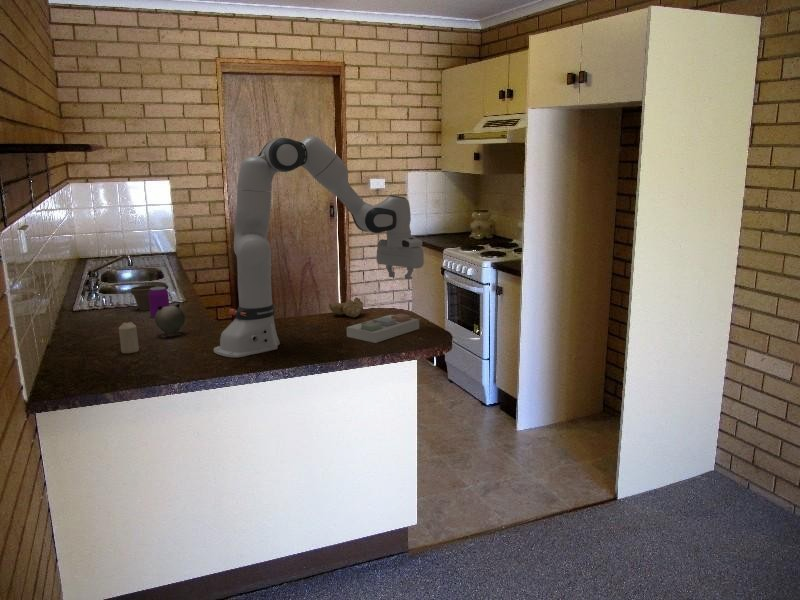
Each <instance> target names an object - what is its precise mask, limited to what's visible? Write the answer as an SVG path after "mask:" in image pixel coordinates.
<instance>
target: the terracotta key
mask: <svg viewBox="0 0 800 600" xmlns="http://www.w3.org/2000/svg"><path fill="white" fill-rule="evenodd" d="M392 315H393V316H391V319H396V322H405V321H408V320H410V318H411V315H410V314H405V313H398V314H392Z"/></svg>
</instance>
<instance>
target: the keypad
mask: <svg viewBox="0 0 800 600" xmlns="http://www.w3.org/2000/svg"><path fill="white" fill-rule="evenodd" d="M393 315H394V314H388V315H385V316H381V317H378V318H374V319H370V320H367V321H364V322H360V323H357V324H353V325H350V326H346V337H347V338H351V339H355V340H360V341H364V342H369V343H373V344H377V343H379V342H382V341H385V340H389V339H392V338H395V337H398V336H401V335H405V334H407V333H410V332H413V331H417V330H420V319H418V318H413V317H410V320H408V321H405V322H396V324H395V325H392V326H389V327H385V326H381V328H382V329H379V330H376V331H373V332H371V331H366V330H362V328H361V325H362V324H366V323H369V322H374V323H377V320H379V319H383V318H391V316H393Z"/></svg>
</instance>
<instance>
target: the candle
mask: <svg viewBox="0 0 800 600" xmlns="http://www.w3.org/2000/svg"><path fill="white" fill-rule="evenodd" d="M137 330H138V329H137V325H136V324H134V323H133V322H132V321H129V322H123V323H122V324H121V325H120V326H119V327H118V334H119V335H118V336H119V343H120V350H121V351H120V352H121V353H122V354H135V353H137V352H139V351H140V347H139V339H138V331H137Z"/></svg>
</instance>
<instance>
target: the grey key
mask: <svg viewBox="0 0 800 600" xmlns="http://www.w3.org/2000/svg"><path fill="white" fill-rule="evenodd" d="M377 323H379V324H381V326H385V327H389V326H392V325H395V324H396V319H391V318H383V319H379V320H377Z"/></svg>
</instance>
